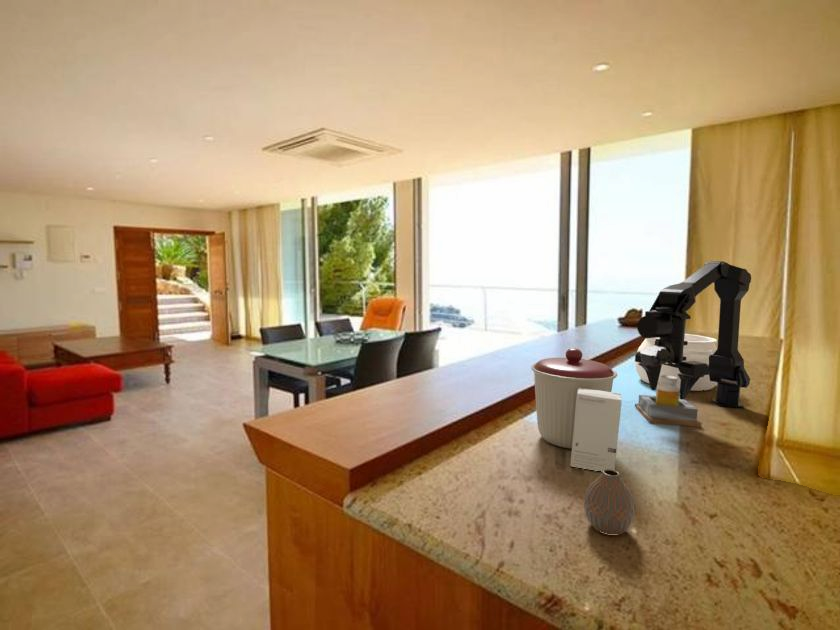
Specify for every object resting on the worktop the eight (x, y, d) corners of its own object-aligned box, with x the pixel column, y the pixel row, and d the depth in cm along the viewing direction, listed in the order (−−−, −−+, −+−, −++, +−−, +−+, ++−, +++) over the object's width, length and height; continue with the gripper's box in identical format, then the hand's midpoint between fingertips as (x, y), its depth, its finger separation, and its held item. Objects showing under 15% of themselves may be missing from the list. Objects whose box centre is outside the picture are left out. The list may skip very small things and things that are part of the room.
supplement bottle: (680, 416, 122) (683, 379, 120) (658, 414, 123) (660, 378, 122) (673, 410, 127) (676, 375, 126) (652, 408, 128) (654, 373, 127)
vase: (575, 516, 73) (578, 462, 72) (617, 515, 74) (621, 462, 73) (595, 542, 66) (599, 483, 65) (642, 541, 67) (646, 482, 66)
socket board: (634, 406, 133) (635, 393, 132) (680, 410, 131) (681, 396, 130) (649, 422, 119) (650, 407, 119) (700, 426, 117) (702, 411, 116)
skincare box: (570, 468, 91) (574, 393, 89) (572, 456, 96) (576, 386, 95) (616, 476, 88) (622, 399, 86) (616, 464, 93) (621, 391, 92)
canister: (512, 440, 105) (516, 347, 103) (551, 422, 118) (555, 339, 116) (591, 464, 93) (598, 360, 90) (624, 441, 106) (631, 349, 104)
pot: (742, 395, 148) (746, 344, 146) (657, 393, 148) (661, 342, 146) (691, 375, 176) (694, 331, 174) (620, 373, 176) (623, 330, 175)
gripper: (621, 332, 129) (617, 387, 130) (679, 343, 111) (673, 407, 113) (652, 331, 132) (648, 385, 134) (713, 341, 115) (707, 403, 116)
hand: (667, 394), depth 124 cm, fingers open, 9 cm apart
